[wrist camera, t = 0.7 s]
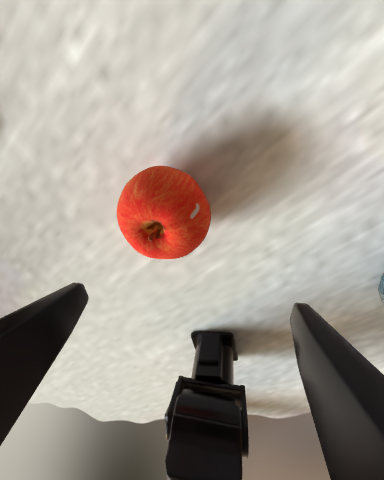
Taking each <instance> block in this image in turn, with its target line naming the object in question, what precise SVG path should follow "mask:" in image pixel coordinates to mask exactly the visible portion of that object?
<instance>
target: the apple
mask: <svg viewBox="0 0 384 480" xmlns="http://www.w3.org/2000/svg"><path fill="white" fill-rule="evenodd" d="M117 218H118V224H119V227H120V230H121V232H122V233H123V235H124V237H125V238H126V240H127V241H128V242H129V243H130V245H131V246H132V247H133V248H134V249H135V250H136V251H138V252H139V253H141V254H142V255H144V256H147V257H150V258H156V259H175V258H180V257H183V256H186V255H188V254H189V253H191V252H192V251H193V250H194V249H196V248H197V247H198V246H199V245H200V244H201V242H202V241H203V240H204V238H205V236H206V234H207V232H208V229H209V226H210V221H211V211H210V206H209V203H208V201H207V199H206V197H205V195H204V193H203V191H202V189H201V188H200V186H199V185H198V183H197V182H196V181H195V180H194V179H193V178H192V177H191V176H190V175H189V174H187V173H185V172H183V171H181V170H178V169H175V168H171V167H166V166H154V167H150V168H147V169H145V170H143V171H141V172H140V173H138V174H137V175H135V176H134V177H133V178H132V179H131V180H130V181H129V182H128V183H127V184H126V186H125V187H124V189H123V191H122V193H121V196H120V198H119V202H118V206H117Z"/></svg>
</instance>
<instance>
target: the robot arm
mask: <svg viewBox="0 0 384 480" xmlns="http://www.w3.org/2000/svg"><path fill="white" fill-rule="evenodd" d="M87 302H88V294H87V292H86V290H85V287H84V285H83V284H81V283H72V284H70V285H68V286H66V287H64V288H62V289H59V290H57V291H55V292H53V293H51V294H49V295H47V296H45V297H43V298H41V299H39V300H37V301H35V302H33V303H31V304H29V305H27V306H25V307H23V308H21V309H19V310H17V311H15V312H13V313H11V314H8V315H6V316H4V317H2V318H0V446H1V444H2V442H3V441H4V439H5V438H6V436H7V435H8V433H9V431H10V430H11V428H12V426H13V425H14V423H15V422H16V420H17V419H18V417H19V416H20V414H21V412H22V411H23V409H24V408H25V406H26V404H27V403H28V401H29V400H30V398H31V397H32V395H33V393H34V392H35V390H36V389H37V387H38V386H39V384H40V382H41V381H42V379H43V378H44V376H45V374H46V373H47V371H48V370H49V368H50V367H51V365H52V363H53V362H54V360H55V359H56V357H57V355H58V354H59V352H60V351H61V349H62V348H63V346H64V344H65V343H66V341H67V340H68V338H69V336H70V335H71V333H72V331H73V329H74V327H75V325H76V324H77V322H78V320H79V318H80V316H81V314H82V312H83V310H84V308H85V306H86V304H87ZM290 325H291V330H292V336H293V341H294V347H295V353H296V358H297V363H298V368H299V372H300V375H301V379H302V382H303V385H304V389H305V392H306V396H307V399H308V403H309V406H310V410H311V413H312V416H313V420H314V423H315V427H316V430H317V433H318V437H319V441H320V444H321V447H322V451H323V454H324V458H325V461H326V465H327V468H328V471H329V475H330V478H331V480H384V375H383V374H382V373H381V372H380V371H379V370H378V369H377V368H376V367H374V366H373V365H372V364H371V363H370V362H369V361H368V360H367V359H366V358H365V357H364V356H363V355H362V354H361V353H359V352H358V351H357V350H356V349H355V348H354V347H353V346H352V345H351V344H350V343H349V342H348V341H347V340H346V339H345V338H343V337H342V336H341V335H340V334H339V333H338V332H337V331H336V330H335V329H334V328H333V327H332V326H331V325H330V324H328V323H327V322H326V321H325V320H324V319H323V318H322V317H321V316H320V315H319V314H318V313H317V312H316V311H315V310H313V309H312V308H311V307H310V306H309V305H308V304H305V303H295V304H294V306H293V310H292V313H291V317H290ZM191 338H192V341H193V344H194V346H195V349H196V353H195V359H194V365H193V372H192V378H186V377H183V376H179V379H178V381H177V382H176V385H175V389H174V392H173V395H172V399H171V402H170V404H169V407H168V409H167V411H166V413H165V417H164V420H165V423H166V438H167V440H169V443H168V449H167V456H166V469H167V475H168V478H169V479H170V480H242V456H243V457H247V458H248V420H247V408H246V396H245V386H244V385H240V386H238V385H233V361H237V360H238V355H237V350H236V345H235V340H234V336H233V333H230V332H192V333H191Z"/></svg>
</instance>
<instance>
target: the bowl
mask: <svg viewBox="0 0 384 480" xmlns="http://www.w3.org/2000/svg"><path fill="white" fill-rule="evenodd" d="M378 290H379V294H380V298H381V301H382V302H383V303H384V274H383V275H382V277H381V281H380V284H379V288H378Z"/></svg>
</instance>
